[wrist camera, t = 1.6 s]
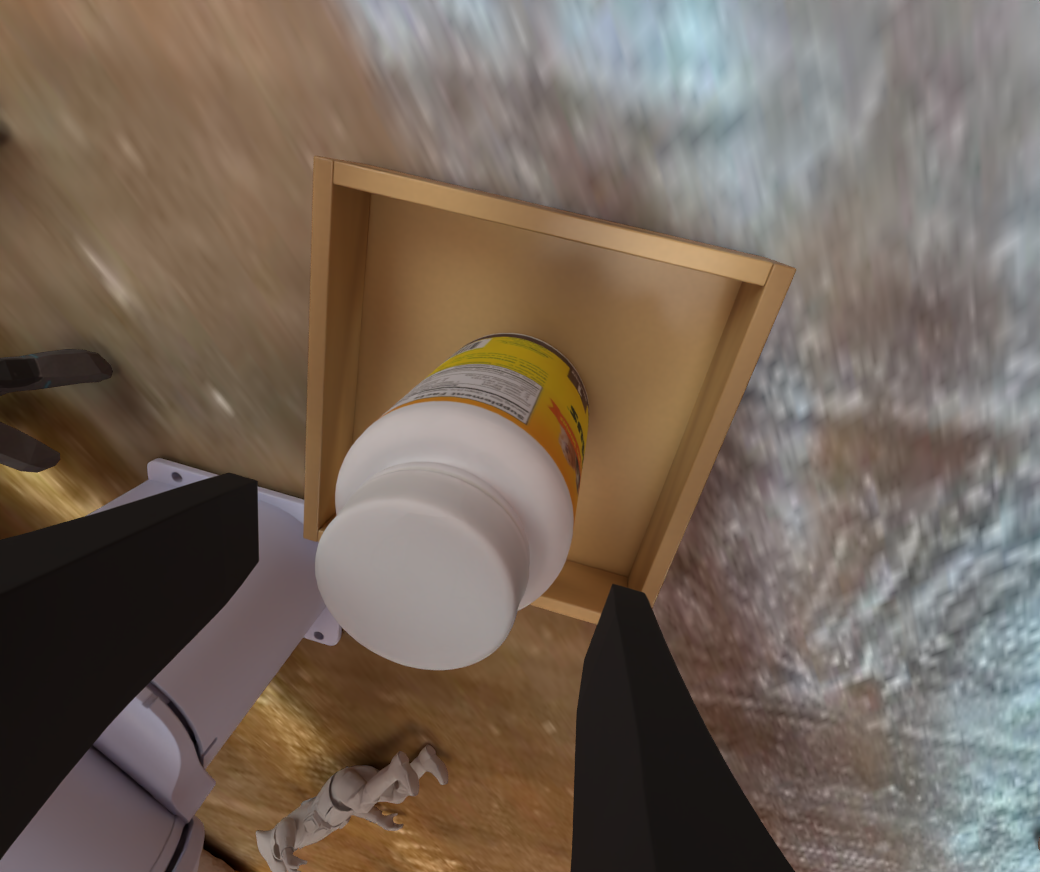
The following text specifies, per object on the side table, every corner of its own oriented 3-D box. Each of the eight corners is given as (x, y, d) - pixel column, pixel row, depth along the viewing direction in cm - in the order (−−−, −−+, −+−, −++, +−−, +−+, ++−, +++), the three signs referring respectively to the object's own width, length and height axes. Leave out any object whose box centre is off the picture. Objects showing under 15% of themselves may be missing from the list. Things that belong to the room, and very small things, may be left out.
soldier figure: (482, 769, 30) (344, 897, 31) (443, 693, 33) (317, 813, 34) (391, 802, 23) (223, 962, 25) (352, 704, 26) (203, 852, 27)
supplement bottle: (566, 490, 20) (517, 738, 11) (429, 447, 20) (265, 651, 11) (613, 353, 17) (603, 520, 8) (456, 307, 18) (276, 417, 8)
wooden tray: (340, 498, 23) (302, 538, 20) (362, 163, 17) (312, 155, 14) (638, 584, 22) (640, 638, 19) (768, 258, 16) (797, 268, 13)
